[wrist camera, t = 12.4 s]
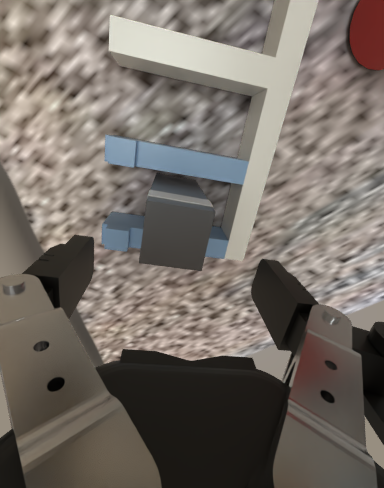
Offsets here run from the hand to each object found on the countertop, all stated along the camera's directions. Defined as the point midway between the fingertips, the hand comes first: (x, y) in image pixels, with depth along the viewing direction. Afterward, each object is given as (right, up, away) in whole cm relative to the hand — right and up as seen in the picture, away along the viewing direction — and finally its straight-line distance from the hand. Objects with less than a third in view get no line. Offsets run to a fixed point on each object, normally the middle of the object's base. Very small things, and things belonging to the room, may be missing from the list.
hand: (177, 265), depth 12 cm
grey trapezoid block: (-1, +6, +14) cm, 15 cm away
